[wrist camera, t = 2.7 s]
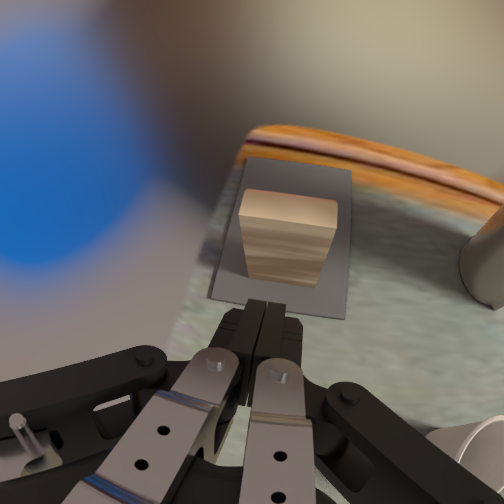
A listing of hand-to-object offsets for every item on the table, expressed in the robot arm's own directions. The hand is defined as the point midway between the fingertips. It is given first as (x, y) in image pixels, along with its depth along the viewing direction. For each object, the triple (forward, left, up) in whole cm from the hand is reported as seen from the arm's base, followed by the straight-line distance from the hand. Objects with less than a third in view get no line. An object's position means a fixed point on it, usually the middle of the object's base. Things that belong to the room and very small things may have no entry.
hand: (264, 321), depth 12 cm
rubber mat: (+11, -12, -19) cm, 25 cm away
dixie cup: (-20, -7, -19) cm, 29 cm away
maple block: (+7, -7, -18) cm, 21 cm away
